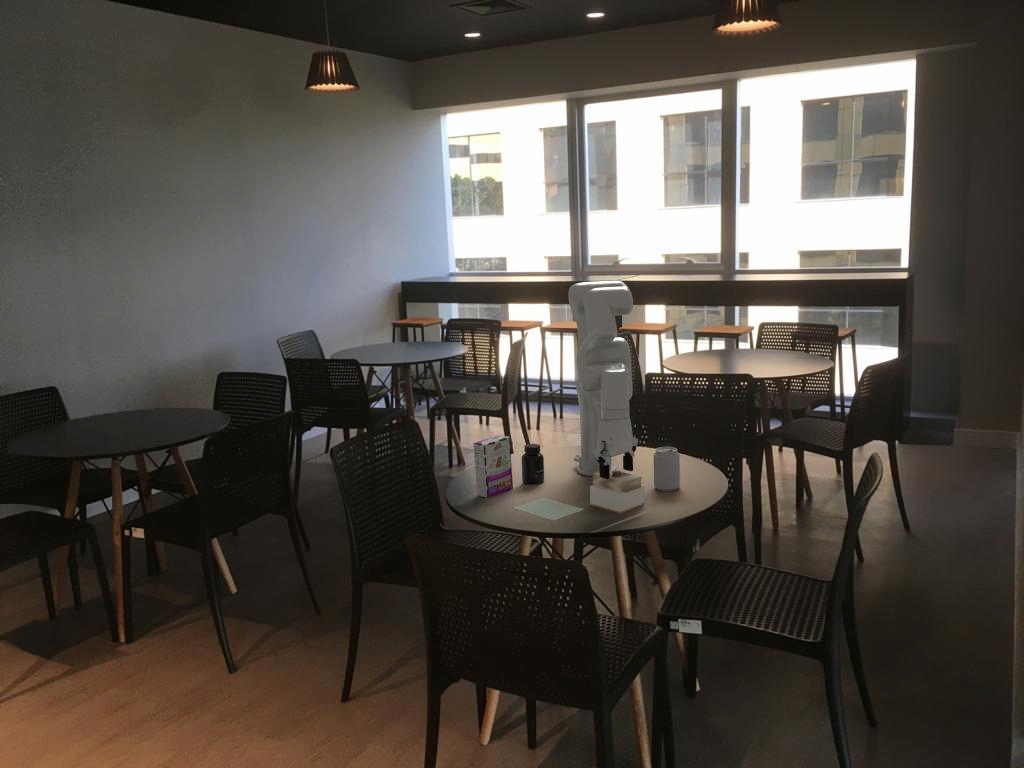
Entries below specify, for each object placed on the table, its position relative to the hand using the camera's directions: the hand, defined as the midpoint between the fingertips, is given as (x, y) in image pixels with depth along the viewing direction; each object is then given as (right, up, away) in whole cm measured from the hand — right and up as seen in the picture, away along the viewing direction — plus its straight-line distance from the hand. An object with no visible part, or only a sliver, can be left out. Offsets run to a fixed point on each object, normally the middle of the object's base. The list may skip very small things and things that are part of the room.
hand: (616, 474), depth 231 cm
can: (+17, -6, +16) cm, 24 cm away
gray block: (0, -9, +2) cm, 9 cm away
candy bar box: (-34, -8, +19) cm, 40 cm away
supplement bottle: (-22, -6, +27) cm, 35 cm away
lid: (0, -3, +1) cm, 3 cm away
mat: (-19, -10, +1) cm, 21 cm away
